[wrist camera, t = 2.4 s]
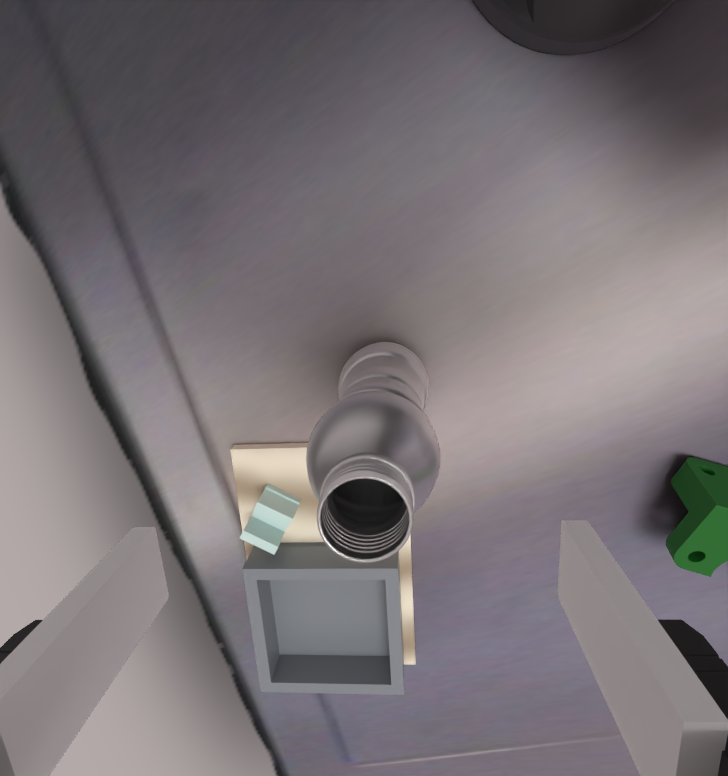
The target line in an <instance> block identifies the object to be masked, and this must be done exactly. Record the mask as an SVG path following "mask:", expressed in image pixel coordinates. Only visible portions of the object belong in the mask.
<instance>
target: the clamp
mask: <svg viewBox="0 0 728 776" xmlns="http://www.w3.org/2000/svg"><path fill="white" fill-rule="evenodd" d="M671 484H672V486H673V488H674V489H675V491H676V492H677V494H678V496H679V497H680V499H681V500H682V502H683V504H684V505H685V507H686V508H687V510H688V513H687V515H686V516H685V517H684V518H683V519H682V521H681V522H680V523H679V524H678V526H677V527H676V528H675V529H674V530H673V532H672V533H671V534H670V535H669V536H668V538H667V540H666V546H667V548H668V550H669V552H670V554H671V556H672V558H673V560H674V562H675V563H676V565H677V566H679V567H680V568H683V569H686V570H689V571H693V572H696V573H700V574H703V575H707V576H710V577H711V575H712V573H713V571H714V570H715V569H716V568H717V567H718V566H720V565H721V564H722V563H724V562H726V561H728V467H726V466H723V465H719V464H716V463H713V462H709V461H706V460H702V459H699V458H694V457H689V458H687V460H686V461H685V462H684V464H683V465H682V466H681V467H680V469H679V470H678V471H677V473H676V474H675V475H674V476H673V478H672V479H671Z"/></svg>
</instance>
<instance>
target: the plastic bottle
mask: <svg viewBox="0 0 728 776" xmlns="http://www.w3.org/2000/svg"><path fill="white" fill-rule="evenodd" d="M428 393H429V379H428V375H427V371H426V369H425V367H424V365H423V363H422V362H421V360H420V359H419V358H418V356H416V355H415V354H414V353H413V352H412V351H411V350H409V349H408V348H406V347H404V346H402V345H400V344H397V343H392V342H377V343H374V344H370V345H367V346H366V347H364V348H362V349H360V350H358V351H357V352H356V353H354V354H353V355H352V356H351V357H350V358H349V360H348V361H347V362H346V364H345V365H344V367H343V369H342V371H341V374H340V377H339V384H338V401H337V402H336V403H335V404H334V405H332V406H331V407H330V408H329V409H328V410H327V411H326V413H325V414H324V415H323V416H322V417H321V419H320V420H319V421H318V423H317V424H316V426H315V428H314V430H313V432H312V433H311V436H310V439H309V442H308V445H307V452H306V465H307V473H308V479H309V482H310V485H311V488H312V491H313V493H314V494H315V496H316V498H317V500H318V501H319V504H318V508H317V526H318V530H319V533H320V535H321V537H322V539H323V541H324V542H325V544H326V545H327V546H328V547H329V548H330V549H331V550H332V551H333V552H334V553H336V554H337V555H339V556H341V557H343V558H344V559H347V560H350V561H353V562H360V563H373V562H377V561H381V560H384V559H386V558H389V557H390V556H392V555H394V554H395V553H397V552H398V551H399V550H400V549H401V548H402V547H403V546H404V544H405V543H406V541H407V540H408V538H409V535H410V533H411V530H412V526H413V521H414V513H415V512H416V511H417V510H418V509H419V508H420V507H421V506H422V505H423V503H424V502H425V501H426V499H427V498H428V496H429V495H430V493H431V491H432V489H433V487H434V484H435V482H436V479H437V477H438V473H439V468H440V448H439V444H438V440H437V437H436V434H435V431H434V429H433V427H432V425H431V423H430V421H429V419H428V418H427V416H426V414H425V413H424V408H425V405H426V402H427V399H428Z"/></svg>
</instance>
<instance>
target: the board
mask: <svg viewBox="0 0 728 776" xmlns="http://www.w3.org/2000/svg"><path fill="white" fill-rule="evenodd" d="M307 445H308V443H277V444H241V445H234V446H233V447H232V448H231V449H230V450H231V457H232V464H233V471H234V478H235V484H236V491H237V498H238V505H239V512H240V518H241V525H242V532H243V530H244V528H245V527H246V525H247V523H248V521H249V520H250V518H251V516H252V514H253V512H254V508H255V505H256V503H257V501H258V500H259V498H260V496H261V495H262V493H263V491H264V489H265V487H266V486H267V484H270V485H273V486H275V487H277V488H279V489H281V490H283V491H285V492H287V493H289V494H291V495H293V496H295V497H297V498H299V499H301V501H300V504H299V506H298V508H297V510H296V513H295V515H294V518H293V520H292V522H291V524H290V526H289V527H287V529H286V531H285V533H284V535H283V537H282V540H281V542H324V541H323V539H322V537H321V535H320V533H319V530H318V526H317V508H318V504H319V501H318V500H317V498H316V496H315V494H314V493H313V491H312V488H311V485H310V482H309V479H308V473H307V465H306V452H307ZM244 545H245V552H246V559H248V557H249V555H250V553H251V551H252V549H253V547H254V545H253V544H250V543H248V542H246V541H244ZM399 566H400V587H401V608H402V628H403V649H404V664H415V637H414V612H413V587H412V563H411V538H410V535H409V538H408V540H407V541H406V543H405V544H404V546H403V547H402V548H401V549H400V550H399Z"/></svg>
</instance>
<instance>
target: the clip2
mask: <svg viewBox="0 0 728 776" xmlns="http://www.w3.org/2000/svg"><path fill="white" fill-rule="evenodd" d="M300 501H301V499H299V498H297V497H295V496H293V495H291V494H289V493H287V492H285V491H283V490H281V489H279V488H277V487H275V486H273V485H270V484H267V486H266V487H265V489H264V491H263V493H262V495H261V496H260V498H259V500H258V501H257V503H256V505H255V508H254V512H253V514H252V516H251V518H250V520H249V521H248V523H247V525H246V527H245V528H244V530H243V532H242V534H241V536H240V539H242V540H244V541H246V542H248V543H250V544H253V545H255V546H257V547H259V548H261V549H263V550H265V551H267V552H269V553H271V554H274V555H275V553H276V551H277V549H278V547H279V545H280V542H281V540H282V537H283V535H284V533H285V531H286V529H287V527H289V526H290V524H291V522H292V520H293V518H294V515H295V513H296V510H297V508H298V506H299V504H300Z"/></svg>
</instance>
